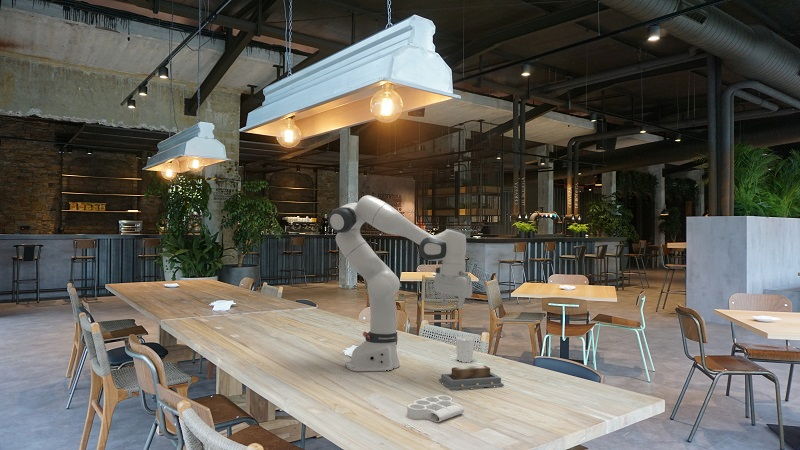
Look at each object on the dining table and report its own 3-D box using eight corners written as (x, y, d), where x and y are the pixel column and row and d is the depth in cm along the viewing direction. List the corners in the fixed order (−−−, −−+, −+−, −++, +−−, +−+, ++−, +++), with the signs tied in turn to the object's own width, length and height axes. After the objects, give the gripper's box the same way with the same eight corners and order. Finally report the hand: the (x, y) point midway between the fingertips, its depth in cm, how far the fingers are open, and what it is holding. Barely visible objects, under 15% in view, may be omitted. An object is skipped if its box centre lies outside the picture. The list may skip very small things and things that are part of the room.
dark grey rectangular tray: (451, 390, 181) (451, 382, 181) (438, 381, 192) (438, 373, 192) (503, 386, 187) (503, 378, 187) (488, 377, 199) (488, 370, 199)
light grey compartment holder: (432, 427, 147) (397, 414, 157) (470, 413, 159) (435, 401, 170) (432, 416, 147) (397, 403, 157) (470, 402, 159) (435, 391, 170)
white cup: (473, 359, 229) (473, 336, 229) (473, 363, 221) (474, 340, 221) (455, 358, 230) (456, 336, 230) (455, 362, 222) (456, 339, 222)
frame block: (455, 384, 186) (456, 369, 186) (451, 381, 190) (451, 367, 190) (489, 381, 190) (490, 367, 190) (484, 378, 194) (485, 365, 194)
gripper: (477, 273, 189) (475, 310, 189) (445, 268, 207) (443, 302, 207) (463, 273, 186) (461, 311, 186) (432, 268, 204) (430, 302, 203)
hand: (451, 306), depth 196 cm, fingers open, 8 cm apart
